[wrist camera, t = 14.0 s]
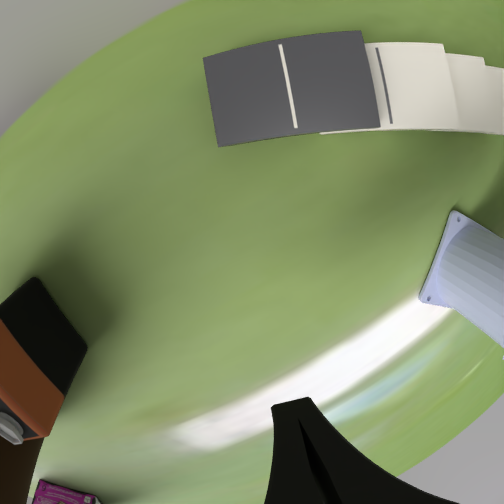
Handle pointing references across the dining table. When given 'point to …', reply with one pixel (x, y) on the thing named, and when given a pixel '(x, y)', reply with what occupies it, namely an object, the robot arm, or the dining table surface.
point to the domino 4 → (494, 98)
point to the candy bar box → (61, 495)
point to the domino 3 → (471, 93)
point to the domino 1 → (291, 88)
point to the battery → (34, 362)
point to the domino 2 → (411, 87)
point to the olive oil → (17, 469)
